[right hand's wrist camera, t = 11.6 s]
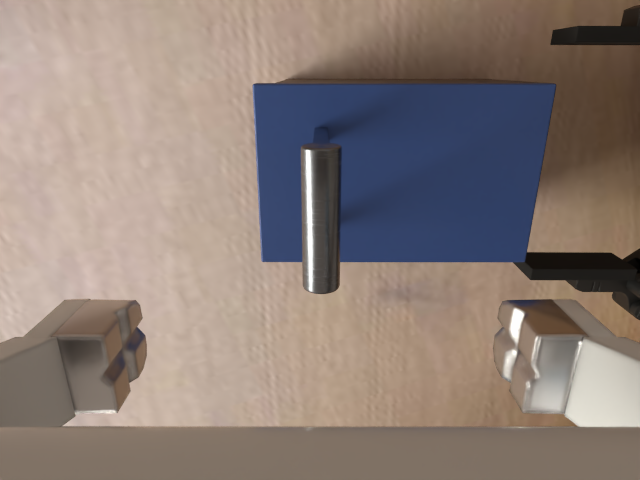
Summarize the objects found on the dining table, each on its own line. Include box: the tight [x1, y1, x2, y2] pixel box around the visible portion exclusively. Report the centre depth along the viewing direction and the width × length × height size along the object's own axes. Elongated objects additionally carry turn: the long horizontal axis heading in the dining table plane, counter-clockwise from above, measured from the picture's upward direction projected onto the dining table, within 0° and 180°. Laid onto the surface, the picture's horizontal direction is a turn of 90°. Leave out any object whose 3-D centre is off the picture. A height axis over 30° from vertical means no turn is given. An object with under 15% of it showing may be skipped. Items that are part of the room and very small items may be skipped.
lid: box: [253, 83, 556, 294], centre depth 21 cm, size 15×10×8 cm, turn 90°
